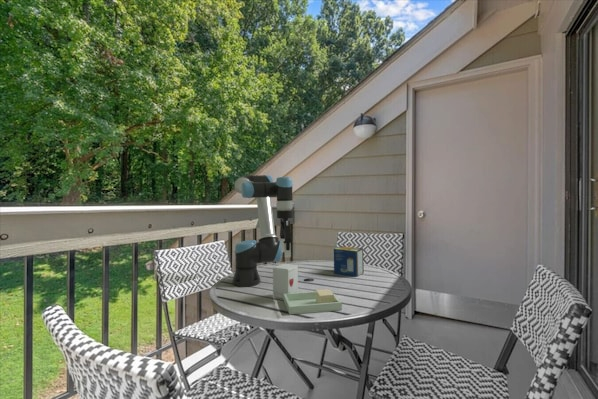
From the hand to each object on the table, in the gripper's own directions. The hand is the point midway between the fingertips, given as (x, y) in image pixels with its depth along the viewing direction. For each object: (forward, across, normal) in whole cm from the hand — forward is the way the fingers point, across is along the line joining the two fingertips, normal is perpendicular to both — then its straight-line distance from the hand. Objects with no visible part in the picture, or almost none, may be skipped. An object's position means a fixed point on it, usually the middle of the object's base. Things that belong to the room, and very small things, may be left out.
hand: (285, 254), depth 148 cm
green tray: (+20, -15, -9) cm, 27 cm away
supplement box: (+21, 0, 0) cm, 21 cm away
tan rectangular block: (+20, -15, -15) cm, 29 cm away
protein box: (+21, +35, -44) cm, 60 cm away
